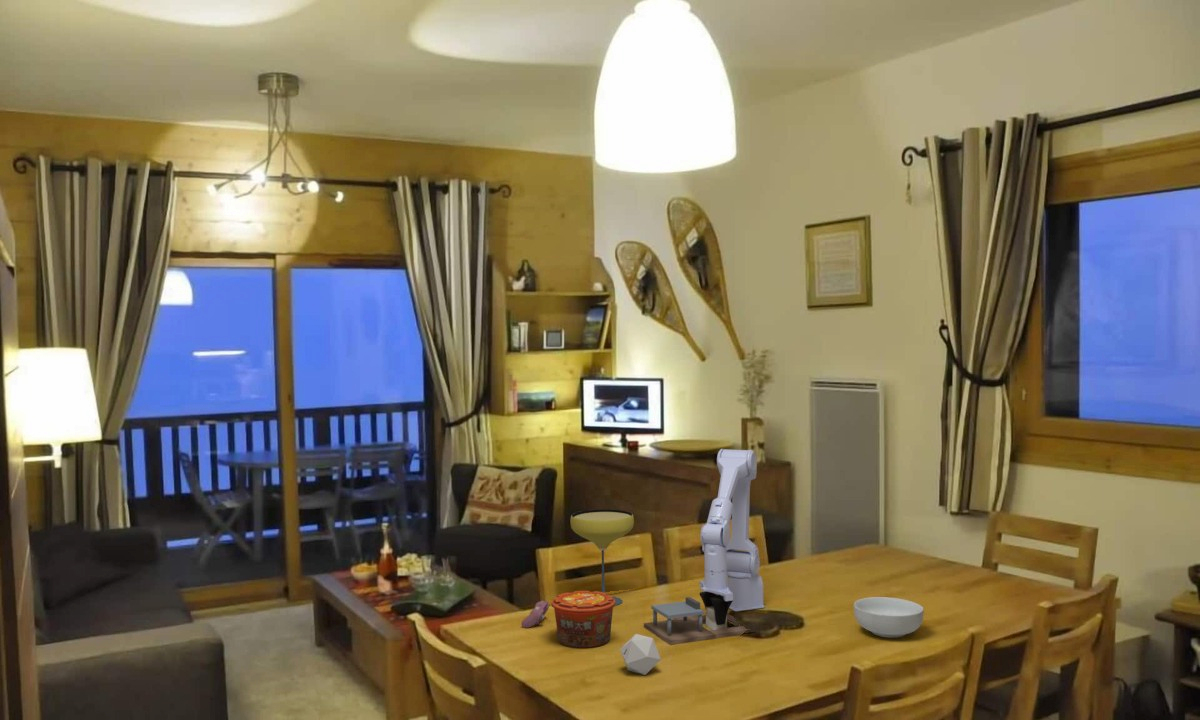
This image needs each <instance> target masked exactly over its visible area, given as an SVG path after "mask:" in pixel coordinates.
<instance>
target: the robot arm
mask: <svg viewBox="0 0 1200 720" xmlns="http://www.w3.org/2000/svg"><path fill="white" fill-rule="evenodd" d="M716 466H717V469H718V473H719V475H720V477H719V485H718V486H719V487H718V492H717V493H718V494H717V497H716V498H714V499H712V502H711V505H710V508H709V513H708V517H707V520H706V523H705V524H703V525H702V526H701V530H700V543H701V546H702V547H701V548H702V549H701V550H702V553H704V554H703V555H704V558H703V560H704V561H703V562H704V580H703V579H702V580H699V588H700V590H701V592H699V596H700V598H701V600H702V602H703V606H704V609H705V610H706V607H711V606H713V607H714V612H715V620H716V624H717V625H723V624H725V621H726V616H727V613H728V612H729V610H731V611H733V612H741V611H742V612H743V611H750V610H756V609H757V610H759V609H764V608H765V607H766V606H765V605H764V583H763V578H762V576H761V575H760V574H759V570H760V564H761V562H760V561H761V560H760V555H759V554H760V553H759V552H760V550H759V547H758V546H757V545H756V544H755V543H754V542H752V541H751V539H749V537H750V536H749V535H750V506H751V505H750V504H751V503H750V500H751V499H750V498H751V495H750V494H751V482H752V481H753V480H755V479H756V478H757V473H758V472H757V470H758V469H757V468H758V458H757V454H756V452H755V450H753V449H725V448H720V450H718V452H717V457H716ZM731 500H732V501H731ZM730 523H731V525H730ZM730 536H731V537H730ZM728 614H729V613H728Z"/></svg>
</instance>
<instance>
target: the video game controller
mask: <svg viewBox="0 0 1200 720" xmlns="http://www.w3.org/2000/svg"><path fill="white" fill-rule="evenodd" d="M550 605H551V604H550V603H549V602H548V601H544V600H543V599H542V600H541V601H538V602H536V603H535V606H534V608H533V609H532V610H531V611H530V612H529V614H528V615H527V616H526V617H524V619H522V621H521V627H522V628H523V629H526V628H527V629H529V628H532V626H534V625H535V626H538V625H539V623H541V622H542V621H543V620H544V618H545V614H546V613H547V612H548V611H549V608H550Z"/></svg>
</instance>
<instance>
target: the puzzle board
mask: <svg viewBox="0 0 1200 720" xmlns="http://www.w3.org/2000/svg"><path fill="white" fill-rule="evenodd" d="M734 617H735V616H733V615H731V614H730V613H727V621H730V622H733V623H735V624H737V622H736V621H735V620H736V619H735V618H736V617H735V618H734ZM734 619H735V620H734ZM703 624H706V614H702V625H703ZM737 625H738V624H737ZM643 628H645V629H646V630H648V631H649V632H651V633H652V634H653V635H655V636H656V637H658V639H661V640H662V641H664V642H665V643H667V644H668V645H670V646H672V645H678V644H686V643H692V642H699V641H707V640H713V639H714V640H715V639H721V638H728V637H733V636H734V637H735V636H741V635H742V634H743V633H744V632H745V631H747V630H750V629H746V628H745V627H744V626H740V624H739V626H738V627H734V626H732V627H727V628H724V629H716V630H711V629H710V630H709V629H708V628H707V627H704V626H702V630H698V616H694V617H687V621H683V618H680V619H673V618H671V632H672V634H668V633H667V619H666V620H657V625H653V621H651V622H650V621H649V622H645V623H643ZM743 635H744V634H743ZM743 635H742V636H743Z"/></svg>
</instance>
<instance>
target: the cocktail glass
mask: <svg viewBox="0 0 1200 720" xmlns="http://www.w3.org/2000/svg"><path fill="white" fill-rule="evenodd" d="M569 521H570V528H571V530H572V531H573V532H574V533H575V534H577V535H578V536H580V537H581V538H583V539H586V540H587V541H590V542H591V543H592V544H594V545H595V546H596V547H597V549H598V550H600V551H601V591H600V592H604V593H607V592H606V586H605V585H606V583H605V582H606V581H605V550H607V548H609V545H611V544H612V543H613V542H615V541H616V540H618V539H620V538H622V537H624V536H625V535H627V534H628V533H630V532H631V531H632V529H633V528H634V524H635V519H634V514H633V512H631V511H627V510H621V509H612V508H611V509H608V508H607V509H606V508H605V509H604V508H603V509H601V508H600V509H598V508H597V509H587V510H581V511H580V510H579V511H576V512H574V513H572V514H571V516H570V520H569ZM613 599H614V600H615V602H616V603H615V605H617V606H619V605H621V604H622V603H623V599H622V598H620V597H618V598H617V596H613ZM620 603H621V604H620ZM618 604H619V605H618ZM615 605H614V607H616V606H615Z"/></svg>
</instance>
